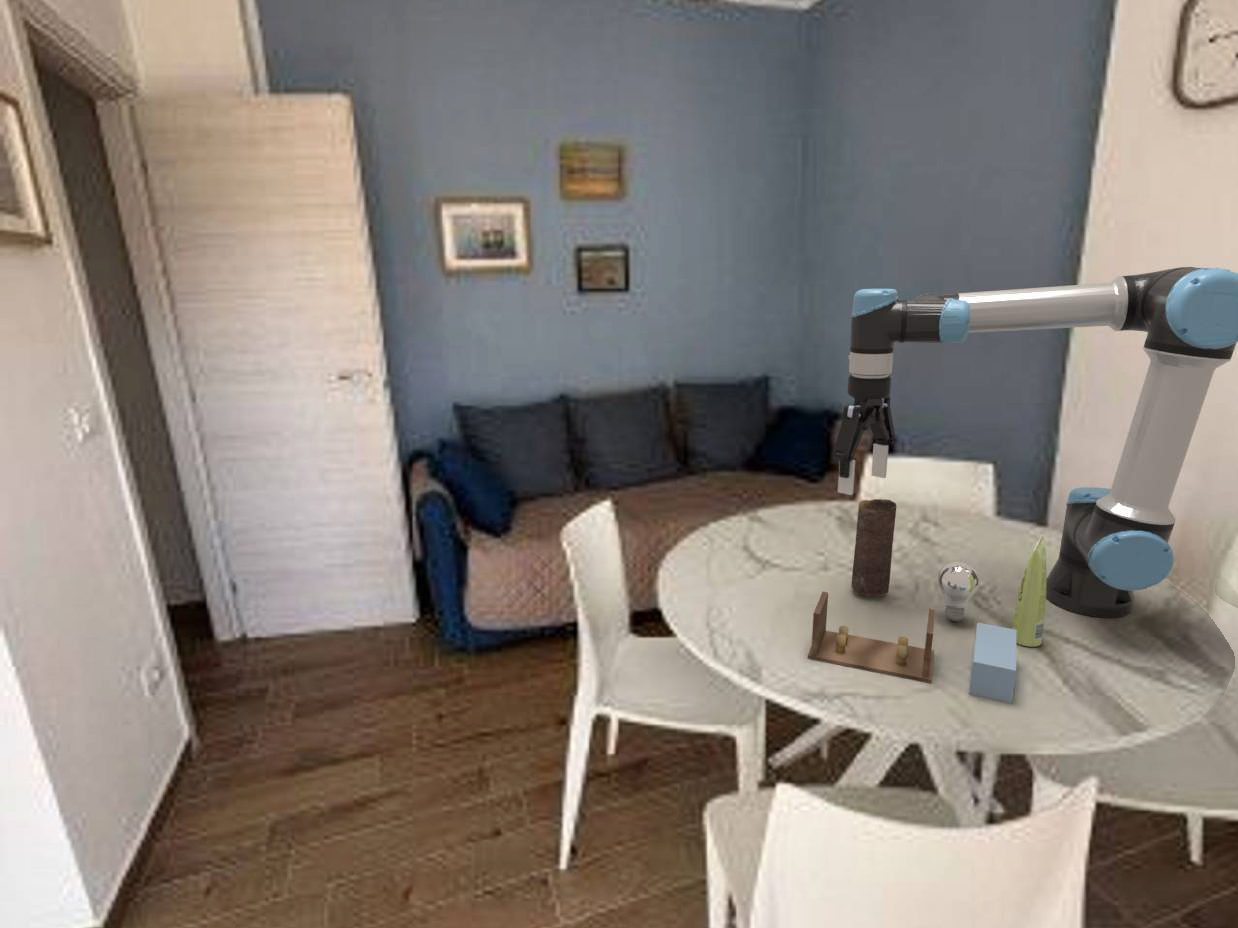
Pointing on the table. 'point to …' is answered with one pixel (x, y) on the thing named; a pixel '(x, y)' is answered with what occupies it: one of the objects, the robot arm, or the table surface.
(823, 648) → the peg stand
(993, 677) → the block
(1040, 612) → the tube
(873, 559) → the brown rusty cylinder
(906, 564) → the table surface
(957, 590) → the light bulb
